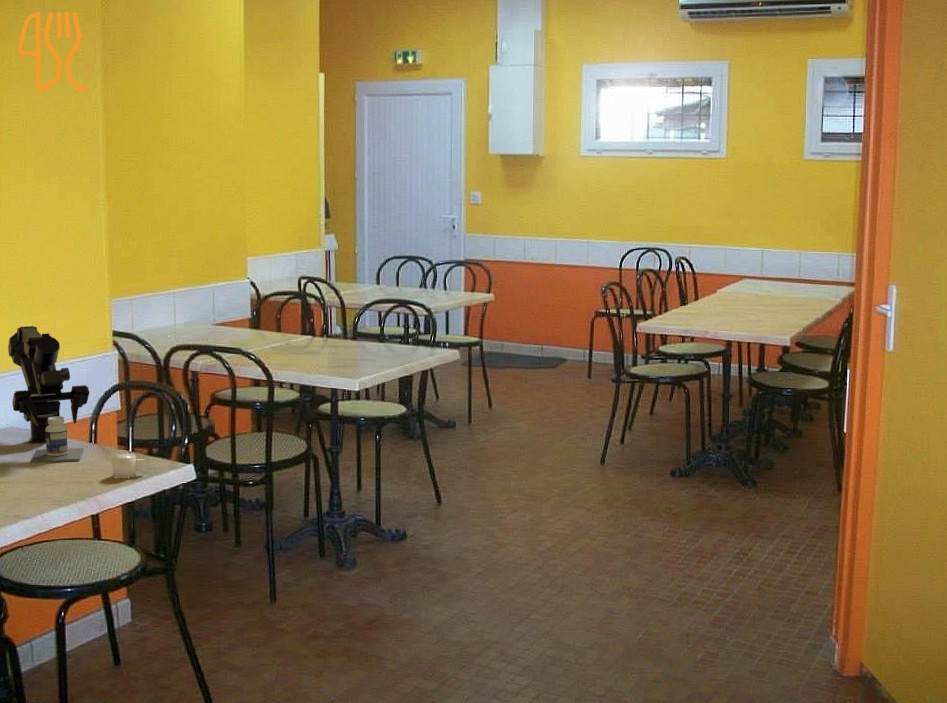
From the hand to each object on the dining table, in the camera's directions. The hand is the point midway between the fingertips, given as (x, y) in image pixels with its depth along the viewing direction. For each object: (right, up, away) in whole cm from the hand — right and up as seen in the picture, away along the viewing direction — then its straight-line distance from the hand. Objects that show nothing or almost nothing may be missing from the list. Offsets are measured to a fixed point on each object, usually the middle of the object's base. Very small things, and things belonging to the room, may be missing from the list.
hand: (57, 424), depth 307 cm
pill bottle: (-1, -8, +2) cm, 9 cm away
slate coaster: (-1, -9, +2) cm, 9 cm away
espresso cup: (+23, -12, -15) cm, 30 cm away
